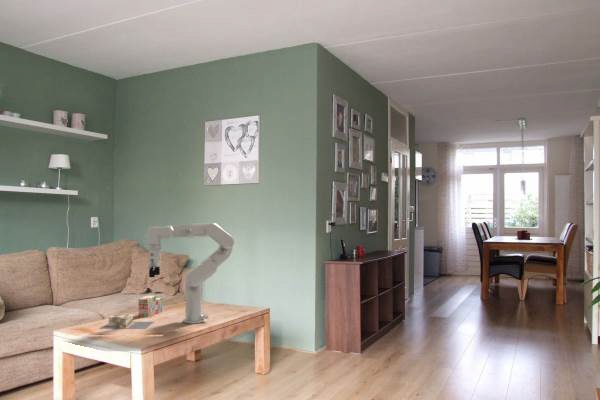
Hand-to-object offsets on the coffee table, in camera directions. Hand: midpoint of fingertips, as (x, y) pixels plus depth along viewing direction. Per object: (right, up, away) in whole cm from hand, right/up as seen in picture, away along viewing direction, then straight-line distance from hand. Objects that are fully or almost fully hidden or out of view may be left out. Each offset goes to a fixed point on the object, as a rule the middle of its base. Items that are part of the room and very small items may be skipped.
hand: (154, 276), depth 296 cm
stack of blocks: (-10, -29, +25) cm, 40 cm away
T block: (-18, -27, -8) cm, 33 cm away
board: (-13, -28, -8) cm, 32 cm away
